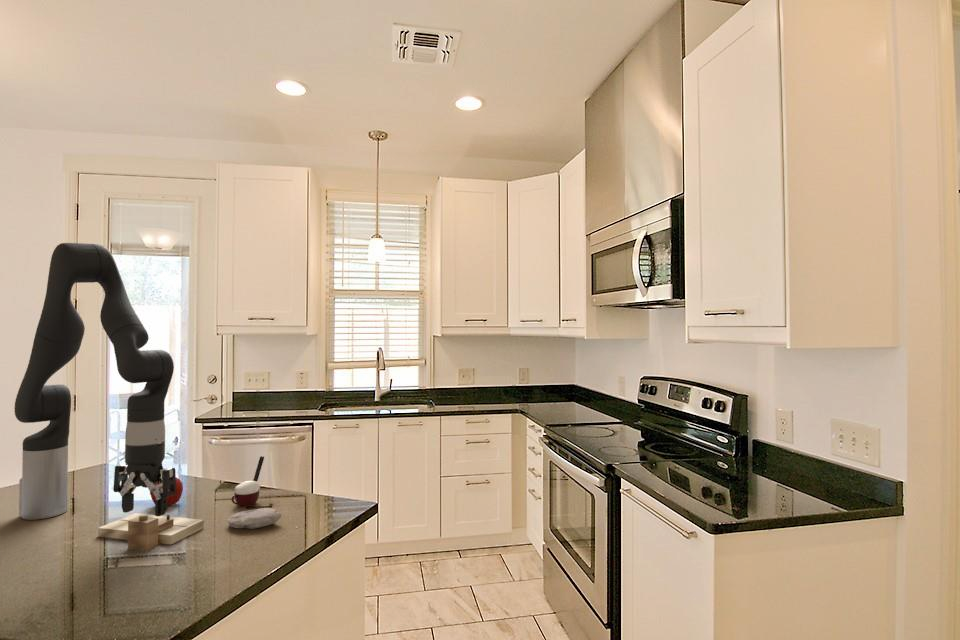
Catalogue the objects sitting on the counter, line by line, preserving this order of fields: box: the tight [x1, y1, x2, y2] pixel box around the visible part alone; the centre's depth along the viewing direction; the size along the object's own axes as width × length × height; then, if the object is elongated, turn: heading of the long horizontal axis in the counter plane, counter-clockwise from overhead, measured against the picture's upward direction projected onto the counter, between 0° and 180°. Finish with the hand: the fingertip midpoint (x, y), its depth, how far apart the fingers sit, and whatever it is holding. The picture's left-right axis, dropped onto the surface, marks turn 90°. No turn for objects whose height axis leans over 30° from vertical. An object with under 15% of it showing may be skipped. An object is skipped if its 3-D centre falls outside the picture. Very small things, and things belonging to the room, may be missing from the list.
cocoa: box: [231, 455, 265, 507], centre depth 147 cm, size 10×6×12 cm, turn 127°
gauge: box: [127, 514, 174, 551], centre depth 122 cm, size 5×9×7 cm, turn 167°
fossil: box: [226, 507, 282, 530], centre depth 132 cm, size 12×4×10 cm
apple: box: [149, 477, 184, 507], centre depth 146 cm, size 8×8×8 cm
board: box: [97, 512, 205, 545], centre depth 127 cm, size 20×10×2 cm, turn 77°
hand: (144, 513), depth 119 cm, fingers open, 8 cm apart
